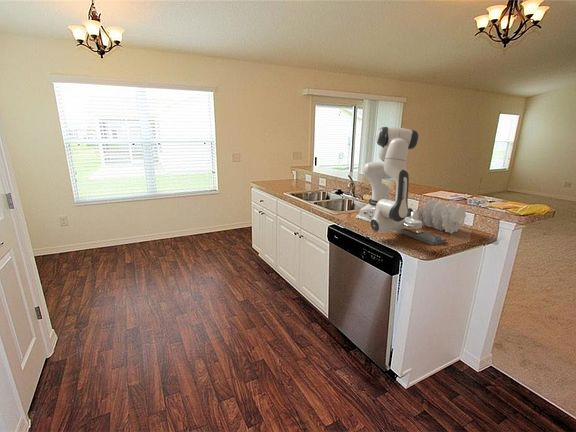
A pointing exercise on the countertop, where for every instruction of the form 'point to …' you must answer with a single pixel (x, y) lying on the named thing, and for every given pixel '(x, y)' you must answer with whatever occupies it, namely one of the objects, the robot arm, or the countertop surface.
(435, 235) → the hook
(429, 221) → the spiral staircase
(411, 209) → the ceramic mug
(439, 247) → the countertop surface
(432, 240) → the board
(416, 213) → the metal post on plate
